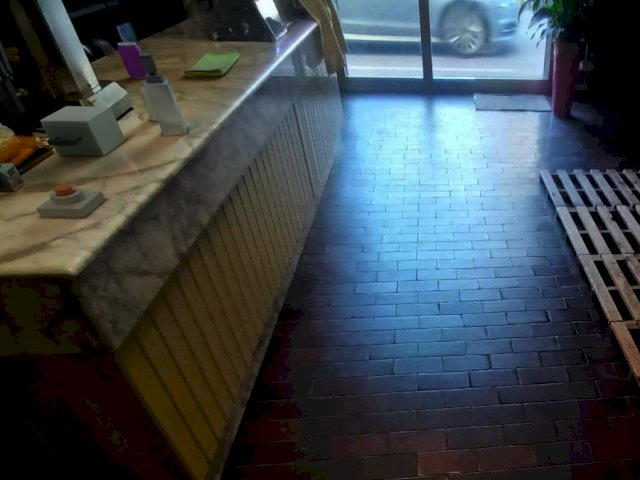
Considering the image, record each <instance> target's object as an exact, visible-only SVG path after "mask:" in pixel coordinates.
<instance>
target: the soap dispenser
mask: <svg viewBox="0 0 640 480" xmlns="http://www.w3.org/2000/svg"><path fill="white" fill-rule="evenodd" d="M141 53H142V54H139V57H140V58H141V60H142V63H143V65H144V68H145V70H146V72H147V73H149V74H147V75H145V78H144V79H145V80H144V83H143V86H144V89H145V91H146V94H147V96H148V98H149V101H150V103H151V106H152V108H153V111H154V113H155V115H156V118H157V120H158V121H157V122H158V125H159V127H160V129H161V132H162V135H163V137H169V136H171V137H172V136H181V135H187V124H186V122H185V120H184V116H183V114H182V112H181V109H180V106H179V104H178V101H177V99H176V96H175V93H174V91H173V88H172V85H171V82H170V80H169V79H168V78H164V76H163V74H161V73H158V72H159V71H158V68H157V66H156V62H155V61H154V58H153V54H152V53H150V52H141Z"/></svg>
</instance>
